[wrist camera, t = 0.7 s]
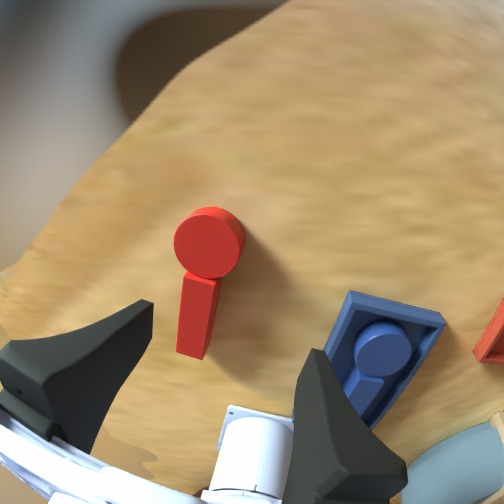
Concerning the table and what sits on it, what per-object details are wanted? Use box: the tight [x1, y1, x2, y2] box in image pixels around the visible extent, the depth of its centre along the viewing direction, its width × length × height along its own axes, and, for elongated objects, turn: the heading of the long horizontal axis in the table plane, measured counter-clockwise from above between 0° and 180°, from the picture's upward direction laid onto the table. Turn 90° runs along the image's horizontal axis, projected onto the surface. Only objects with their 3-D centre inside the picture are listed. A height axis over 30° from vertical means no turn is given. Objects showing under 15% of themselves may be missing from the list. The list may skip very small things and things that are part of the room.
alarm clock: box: [400, 411, 504, 504], centre depth 23 cm, size 19×20×12 cm
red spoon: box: [174, 207, 245, 360], centre depth 22 cm, size 11×4×2 cm, turn 168°
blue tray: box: [292, 290, 446, 431], centre depth 23 cm, size 14×8×2 cm, turn 168°
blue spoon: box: [342, 319, 412, 416], centre depth 22 cm, size 11×4×2 cm, turn 168°
